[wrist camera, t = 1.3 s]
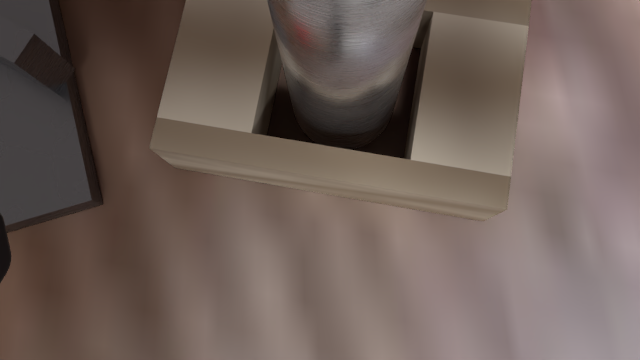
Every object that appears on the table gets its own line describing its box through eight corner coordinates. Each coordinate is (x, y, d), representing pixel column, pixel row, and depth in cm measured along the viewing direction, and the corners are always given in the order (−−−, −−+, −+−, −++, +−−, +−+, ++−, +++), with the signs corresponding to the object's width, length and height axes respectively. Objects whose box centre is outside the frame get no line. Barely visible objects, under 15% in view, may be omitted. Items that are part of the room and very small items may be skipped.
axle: (331, 169, 22) (325, 20, 10) (272, 91, 22) (201, -136, 10) (414, 111, 22) (503, -101, 10) (353, 35, 23) (371, -244, 11)
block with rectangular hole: (483, 221, 21) (507, 209, 18) (174, 167, 22) (149, 147, 19) (506, 36, 22) (531, -3, 19) (216, -9, 23) (198, -52, 20)
